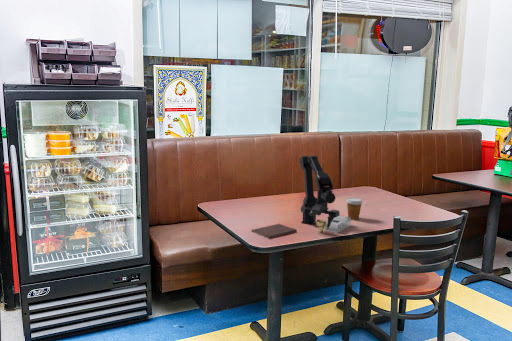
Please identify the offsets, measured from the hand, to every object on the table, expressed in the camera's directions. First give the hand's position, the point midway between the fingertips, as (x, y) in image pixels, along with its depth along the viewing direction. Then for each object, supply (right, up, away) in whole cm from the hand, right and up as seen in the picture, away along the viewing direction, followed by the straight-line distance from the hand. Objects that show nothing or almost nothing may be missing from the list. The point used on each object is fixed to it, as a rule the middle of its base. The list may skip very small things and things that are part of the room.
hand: (321, 226), depth 263 cm
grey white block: (+11, -2, +9) cm, 14 cm away
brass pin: (0, -3, +1) cm, 3 cm away
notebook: (-26, -4, 0) cm, 26 cm away
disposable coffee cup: (+23, +1, +28) cm, 36 cm away
